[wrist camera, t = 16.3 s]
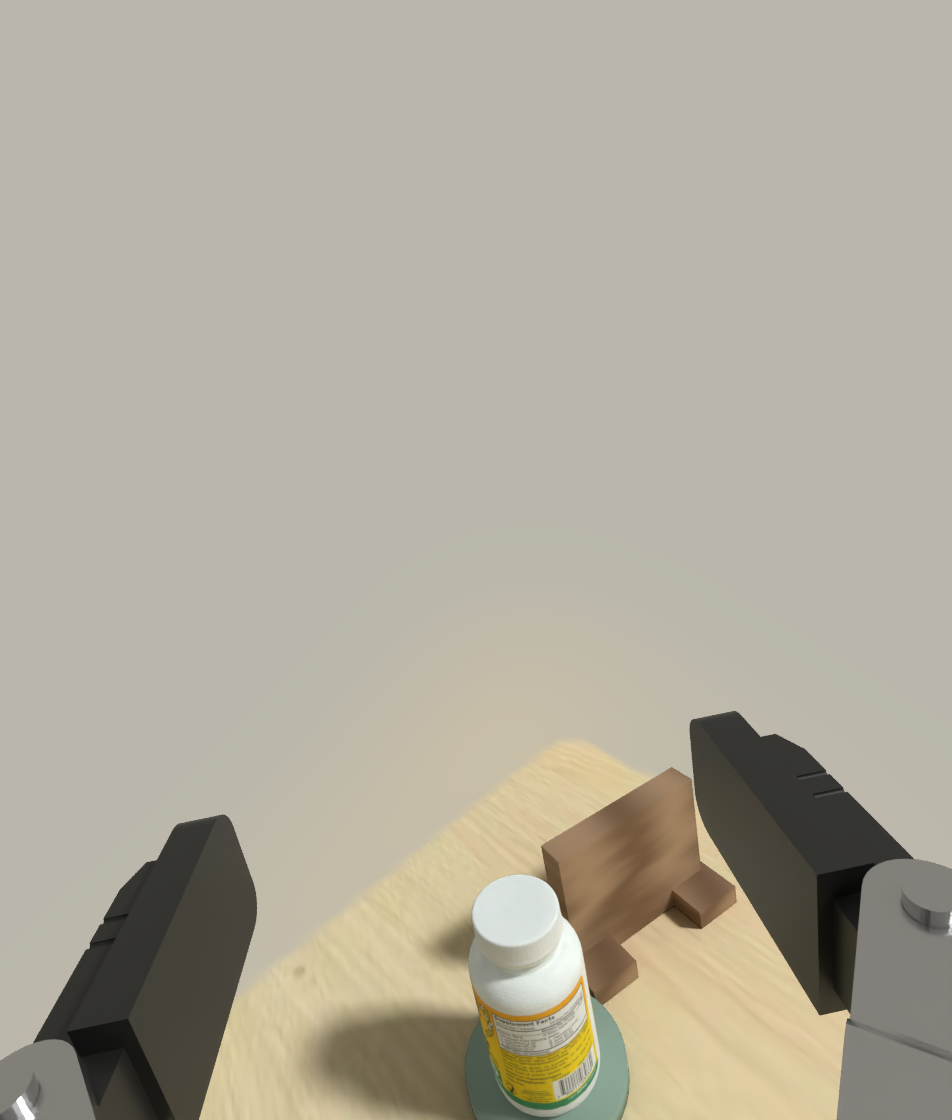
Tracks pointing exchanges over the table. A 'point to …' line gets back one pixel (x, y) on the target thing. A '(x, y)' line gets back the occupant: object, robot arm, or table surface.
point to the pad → (592, 1116)
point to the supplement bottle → (533, 997)
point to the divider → (632, 875)
